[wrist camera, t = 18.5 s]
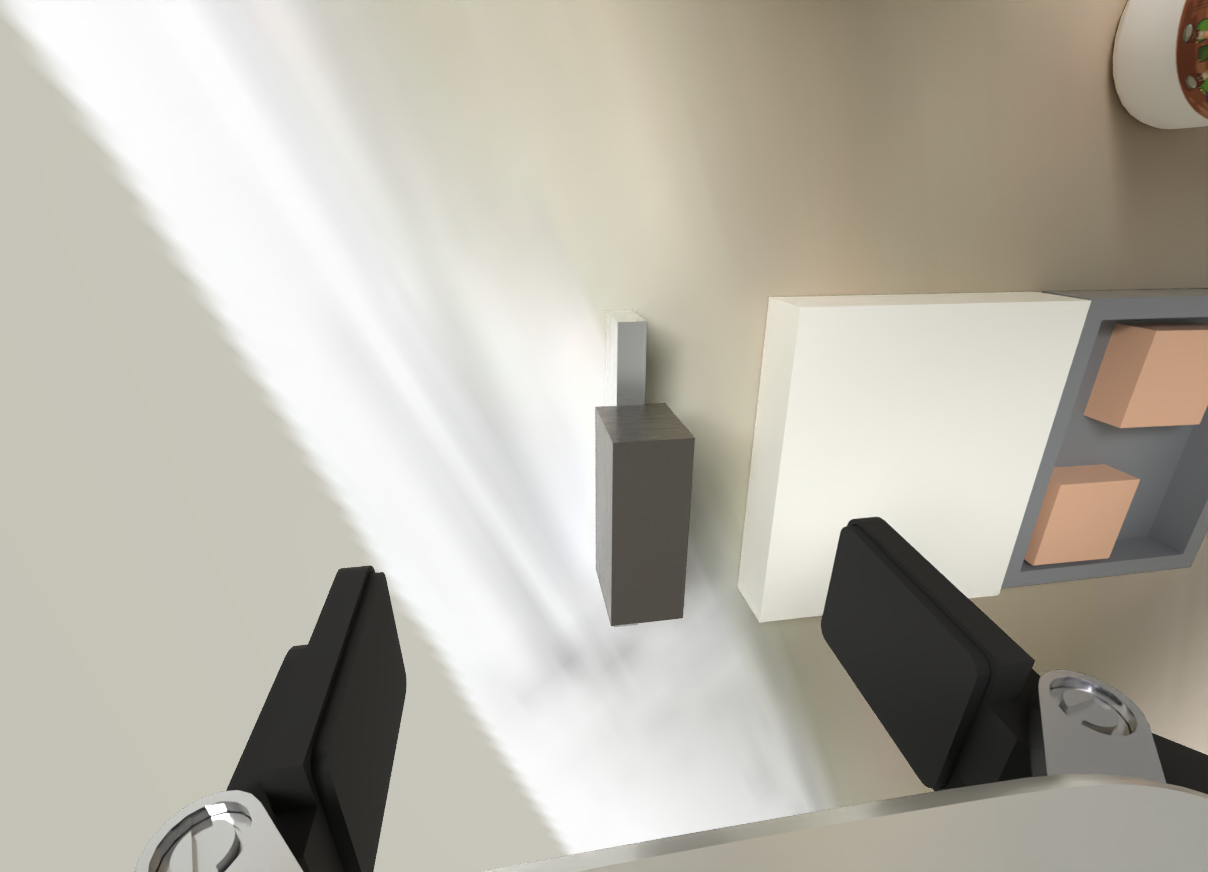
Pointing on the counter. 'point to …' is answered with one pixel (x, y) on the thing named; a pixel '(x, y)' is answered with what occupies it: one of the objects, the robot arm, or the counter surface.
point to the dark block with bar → (639, 486)
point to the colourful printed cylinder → (1163, 62)
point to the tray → (1125, 452)
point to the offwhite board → (899, 433)
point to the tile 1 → (1081, 514)
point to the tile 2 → (1152, 376)
